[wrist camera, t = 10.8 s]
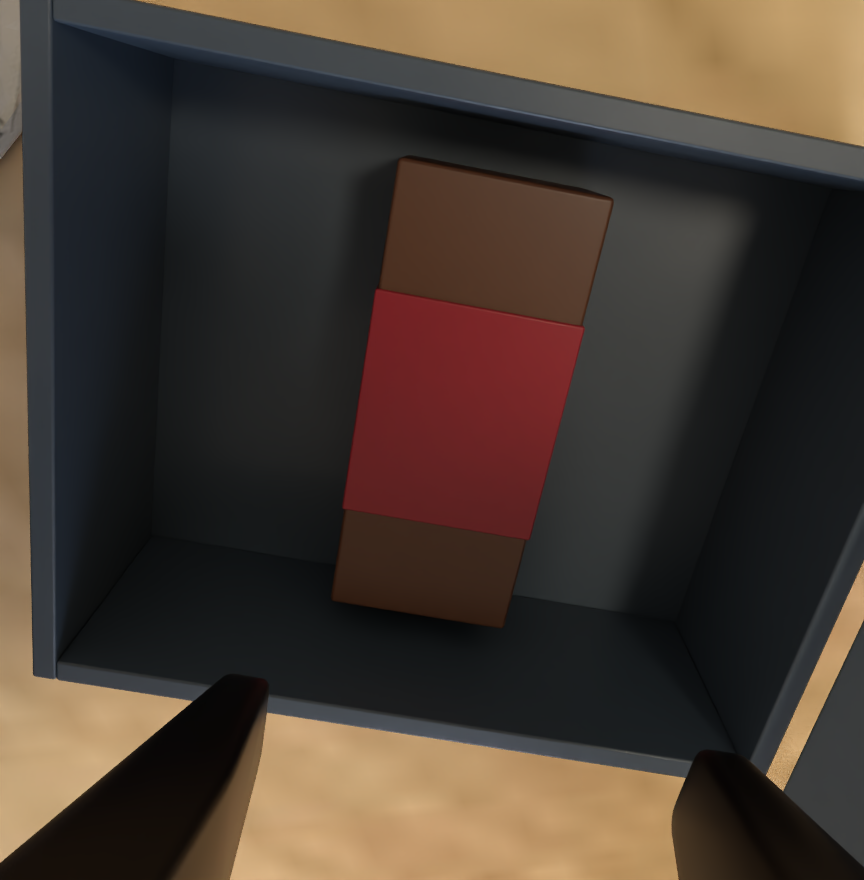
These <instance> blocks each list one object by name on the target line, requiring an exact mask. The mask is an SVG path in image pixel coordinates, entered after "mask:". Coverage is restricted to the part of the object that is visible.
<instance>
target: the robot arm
mask: <svg viewBox="0 0 864 880" xmlns="http://www.w3.org/2000/svg"><path fill="white" fill-rule="evenodd" d="M268 698H269V684H268V682H267V681H266V680H265V679H263V678H257V677H251V676H245V675H239V674H228V675H225V676H223V677H222V678H221V679H219V680H218V681H217V682H216V683H215V684H213V685H212V686H211V687H210V688H209V689H207V690H206V691H205V692H204V693H203V694H202V695H200V696H199V697H198V698H197V699H196V700H194V701H193V702H192V703H191V704H190V705H188V706H187V707H186V708H185V709H184V710H182V711H181V712H180V713H179V714H178V715H176V716H175V717H174V718H173V719H172V720H170V721H169V722H168V723H167V724H166V725H164V726H163V727H162V728H161V729H160V730H159V731H157V732H156V733H155V734H154V735H153V736H151V737H150V738H149V739H148V740H147V741H145V742H144V743H143V744H142V745H141V746H139V747H138V748H137V749H136V750H135V751H133V752H132V753H131V754H130V755H129V756H127V757H126V758H125V759H124V760H123V761H121V762H120V763H119V764H118V765H117V766H115V767H114V768H113V769H112V770H111V771H110V772H108V773H107V774H106V775H105V776H104V777H102V778H101V779H100V780H99V781H98V782H96V783H95V784H94V785H93V786H92V787H90V788H89V789H88V790H87V791H86V792H84V793H83V794H82V795H81V796H80V797H78V798H77V799H76V800H75V801H74V802H72V803H71V804H70V805H69V806H68V807H67V808H65V809H64V810H63V811H62V812H61V813H59V814H58V815H57V816H56V817H55V818H53V819H52V820H51V821H50V822H49V823H47V824H46V825H45V826H44V827H43V828H41V829H40V830H39V831H38V832H37V833H35V834H34V835H33V836H32V837H31V838H29V839H28V840H27V841H26V842H25V843H23V844H22V845H21V846H20V847H19V848H18V849H16V850H15V851H14V852H13V853H12V854H10V855H9V856H8V857H7V858H6V859H4V860H3V861H2V862H1V863H0V880H230V876H231V872H232V868H233V864H234V860H235V857H236V853H237V849H238V845H239V841H240V837H241V833H242V829H243V825H244V821H245V818H246V814H247V810H248V806H249V802H250V798H251V794H252V790H253V786H254V782H255V779H256V775H257V771H258V766H259V762H260V757H261V752H262V745H263V738H264V730H265V722H266V714H267V706H268ZM672 838H673V844H674V851H675V857H676V864H677V871H678V877H679V880H864V867H863V866H862V865H861V864H860V863H859V862H858V861H857V860H856V859H855V858H854V857H853V856H851V855H850V854H849V853H848V852H847V851H846V850H845V849H844V848H843V847H842V846H841V845H840V844H839V843H838V842H836V841H835V840H834V839H833V838H832V837H831V836H830V835H829V834H828V833H827V832H826V831H825V830H824V829H822V828H821V827H820V826H819V825H818V824H817V823H816V822H815V821H814V820H813V819H812V818H811V817H810V816H809V815H807V814H806V813H805V812H804V811H803V810H802V809H801V808H800V807H799V806H798V805H797V804H796V803H795V802H793V801H792V800H791V799H790V798H789V797H788V796H787V795H786V794H785V793H784V792H783V791H782V790H781V789H780V788H778V787H777V786H776V785H775V784H774V783H773V782H772V781H771V780H770V779H769V778H768V777H767V776H766V775H764V774H763V773H762V772H761V771H760V770H759V769H758V768H757V767H756V766H755V765H754V764H753V763H752V762H750V761H749V760H748V759H747V758H746V757H744V756H742V755H739V754H736V753H730V752H723V751H717V750H711V749H705V750H702V751H700V752H699V753H698V754H697V755H696V756H695V758H694V760H693V762H692V765H691V767H690V769H689V772H688V774H687V777H686V779H685V782H684V784H683V787H682V789H681V792H680V794H679V797H678V799H677V801H676V804H675V807H674V810H673V815H672Z"/></svg>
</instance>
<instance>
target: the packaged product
mask: <svg viewBox="0 0 864 880" xmlns="http://www.w3.org/2000/svg"><path fill="white" fill-rule="evenodd" d="M21 133H22V102H21V53H20V4H19V0H0V159H1V158H2V157H3V156H4V154H5V153H6V152H7V151H8V149H9V148H10V147H11V146H12V144H13V143H14V142H15V141H16V139H17V138H18V137H19V135H20V134H21Z"/></svg>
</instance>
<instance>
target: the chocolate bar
mask: <svg viewBox="0 0 864 880" xmlns="http://www.w3.org/2000/svg"><path fill="white" fill-rule="evenodd" d="M613 205H614V199H612V198H611V197H609V196H605V195H602V194H599V193H596V192H593V191H590V190H587V189H584V188H580V187H574V186H569V185H564V184H559V183H554V182H549V181H543V180H538V179H533V178H528V177H523V176H518V175H512V174H507V173H502V172H497V171H492V170H487V169H481V168H476V167H471V166H466V165H461V164H456V163H450V162H445V161H440V160H435V159H430V158H425V157H419V156H414V155H407V156H404V157H401V158H399V160H398V162H397V168H396V175H395V181H394V188H393V194H392V201H391V207H390V214H389V220H388V227H387V233H386V240H385V246H384V253H383V259H382V266H381V272H380V279H379V283H378V285H377V287H376V289H375V293H374V300H373V306H372V313H371V319H370V326H369V333H368V339H367V346H366V352H365V359H364V365H363V372H362V379H361V385H360V392H359V398H358V405H357V411H356V418H355V425H354V431H353V438H352V444H351V451H350V457H349V464H348V471H347V477H346V484H345V490H344V497H343V503H342V508H343V509H344V513H343V520H342V526H341V533H340V539H339V546H338V552H337V559H336V565H335V572H334V578H333V585H332V591H331V600H332V601H335V602H341V603H347V604H353V605H359V606H365V607H371V608H377V609H384V610H390V611H396V612H402V613H408V614H414V615H420V616H426V617H433V618H439V619H445V620H451V621H457V622H463V623H469V624H475V625H482V626H488V627H494V628H500V629H501V628H503V627H504V625H505V622H506V618H507V614H508V610H509V606H510V602H511V598H512V595H513V591H514V587H515V583H516V579H517V575H518V571H519V568H520V564H521V560H522V556H523V552H524V548H525V544H526V541H527V540H529V539H530V537H531V533H532V530H533V526H534V522H535V518H536V514H537V510H538V507H539V503H540V499H541V495H542V491H543V487H544V484H545V480H546V476H547V472H548V468H549V464H550V461H551V457H552V453H553V449H554V445H555V441H556V438H557V434H558V430H559V426H560V422H561V418H562V415H563V411H564V407H565V403H566V399H567V395H568V392H569V388H570V384H571V380H572V376H573V372H574V369H575V365H576V361H577V357H578V353H579V350H580V346H581V342H582V338H583V334H584V330H585V327H584V326H583V321H584V317H585V313H586V309H587V305H588V301H589V298H590V294H591V290H592V286H593V282H594V278H595V274H596V271H597V267H598V263H599V259H600V255H601V251H602V247H603V244H604V240H605V236H606V232H607V228H608V224H609V220H610V217H611V213H612V209H613Z"/></svg>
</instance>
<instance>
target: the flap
mask: <svg viewBox="0 0 864 880" xmlns="http://www.w3.org/2000/svg"><path fill="white" fill-rule="evenodd" d="M783 792H784V793H785V794H786V795H787V796H788V797H789V798H790V799H791V800H792V801H793V802H795V803H796V804H797V805H798V806H799V807H800V808H801V809H802V810H803V811H804V812H805V813H806V814H807V815H809V816H810V817H811V818H812V819H813V820H814V821H815V822H816V823H817V824H818V825H819V826H820V827H821V828H822V829H824V830H825V831H826V832H827V833H828V834H829V835H830V836H831V837H832V838H833V839H834V840H835V841H836V842H838V843H839V844H840V845H841V846H842V847H843V848H844V849H845V850H846V851H847V852H848V853H849V854H850V855H851V856H853V857H854V858H855V859H856V860H857V861H858V862H859V863H860V864H861V865H862V866H863V867H864V621H863V623H862V625H861V627H860V629H859V632H858V634H857V636H856V638H855V640H854V642H853V644H852V646H851V649H850V651H849V653H848V655H847V657H846V659H845V661H844V663H843V666H842V668H841V670H840V672H839V674H838V676H837V678H836V680H835V682H834V685H833V687H832V689H831V691H830V693H829V695H828V697H827V699H826V702H825V704H824V706H823V708H822V710H821V712H820V714H819V716H818V718H817V721H816V723H815V725H814V727H813V729H812V731H811V733H810V735H809V738H808V740H807V742H806V744H805V746H804V748H803V750H802V752H801V755H800V757H799V759H798V761H797V763H796V765H795V767H794V769H793V771H792V774H791V776H790V778H789V780H788V782H787V784H786V786H785V788H784V791H783Z"/></svg>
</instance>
